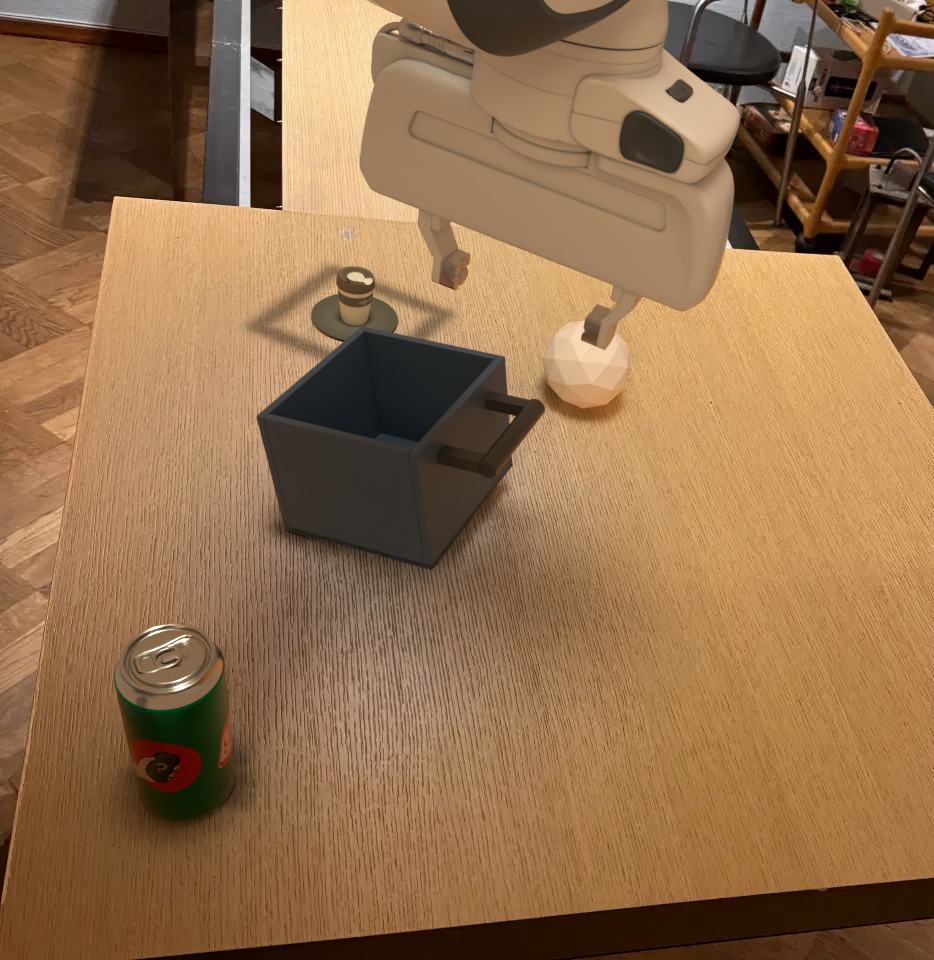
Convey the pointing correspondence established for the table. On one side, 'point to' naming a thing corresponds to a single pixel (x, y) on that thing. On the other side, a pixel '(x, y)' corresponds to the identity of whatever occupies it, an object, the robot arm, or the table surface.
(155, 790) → the soda can
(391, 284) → the table surface
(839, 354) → the table surface
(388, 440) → the handled storage box
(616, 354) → the geometric ball
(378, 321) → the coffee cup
